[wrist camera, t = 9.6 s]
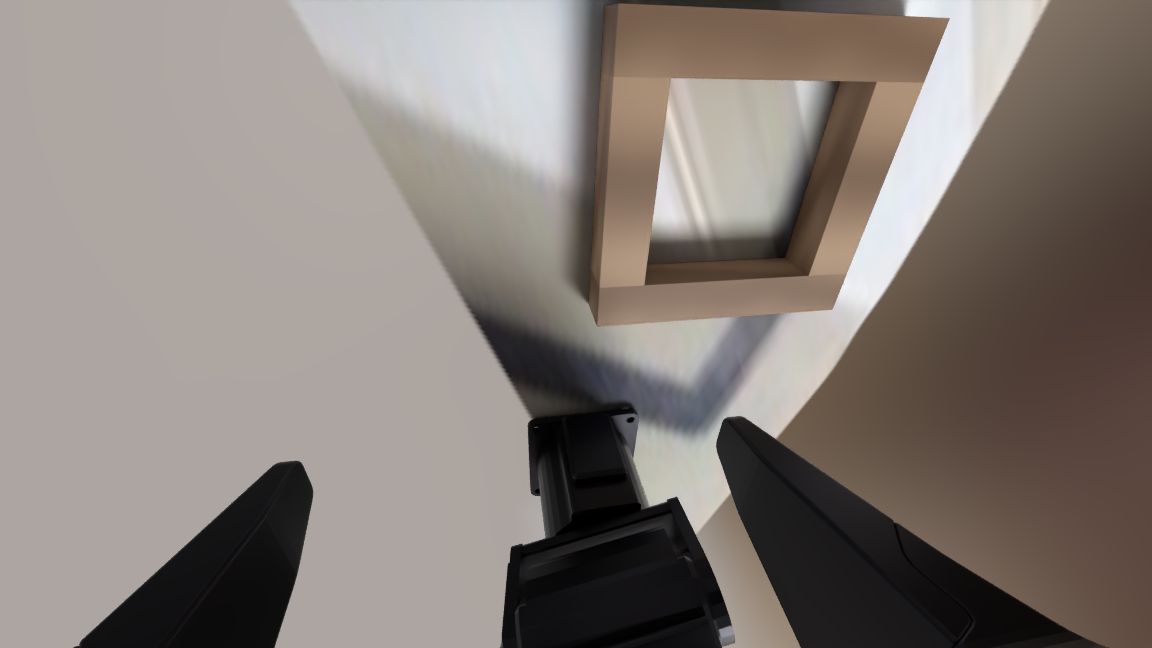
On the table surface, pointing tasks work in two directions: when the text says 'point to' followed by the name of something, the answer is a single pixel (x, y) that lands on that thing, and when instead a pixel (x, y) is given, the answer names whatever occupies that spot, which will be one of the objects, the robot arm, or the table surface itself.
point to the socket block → (840, 173)
